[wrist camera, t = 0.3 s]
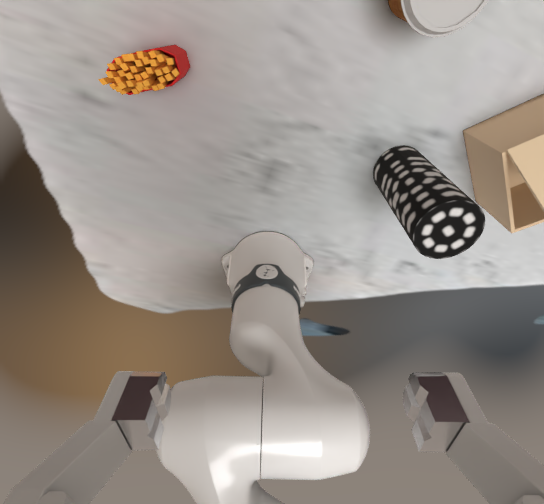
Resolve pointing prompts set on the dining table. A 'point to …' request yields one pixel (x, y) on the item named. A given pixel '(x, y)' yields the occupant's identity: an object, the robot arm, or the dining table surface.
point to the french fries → (147, 70)
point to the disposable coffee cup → (436, 14)
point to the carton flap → (531, 165)
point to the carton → (505, 164)
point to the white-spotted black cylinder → (427, 203)
